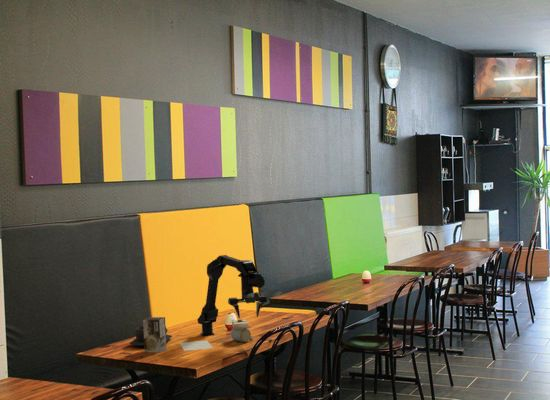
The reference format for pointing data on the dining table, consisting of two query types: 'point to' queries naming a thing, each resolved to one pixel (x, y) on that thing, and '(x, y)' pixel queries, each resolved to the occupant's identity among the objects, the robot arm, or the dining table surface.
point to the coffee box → (154, 334)
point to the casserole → (140, 336)
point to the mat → (196, 345)
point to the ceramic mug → (241, 334)
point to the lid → (240, 324)
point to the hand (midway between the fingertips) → (248, 317)
